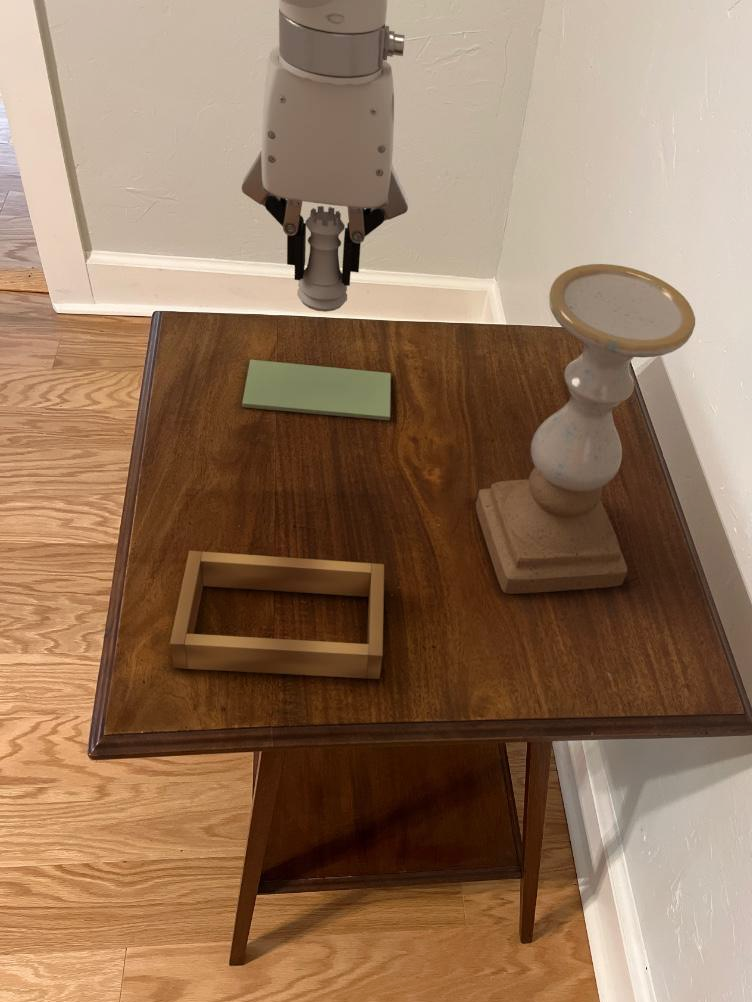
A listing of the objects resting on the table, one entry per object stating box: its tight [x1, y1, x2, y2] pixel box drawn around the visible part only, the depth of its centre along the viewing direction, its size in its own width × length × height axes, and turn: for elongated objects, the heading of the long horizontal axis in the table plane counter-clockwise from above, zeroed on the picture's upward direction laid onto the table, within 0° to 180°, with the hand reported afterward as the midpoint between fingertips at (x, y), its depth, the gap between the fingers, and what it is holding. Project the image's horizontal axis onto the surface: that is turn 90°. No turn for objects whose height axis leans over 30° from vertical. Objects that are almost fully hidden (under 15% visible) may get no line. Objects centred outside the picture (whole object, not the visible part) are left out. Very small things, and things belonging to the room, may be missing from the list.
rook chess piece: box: [297, 205, 348, 313], centre depth 78 cm, size 4×4×8 cm
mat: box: [241, 359, 392, 421], centre depth 89 cm, size 14×7×1 cm, turn 92°
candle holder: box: [475, 263, 696, 595], centre depth 71 cm, size 11×11×24 cm
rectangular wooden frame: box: [169, 550, 385, 680], centre depth 69 cm, size 15×9×3 cm, turn 92°
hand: (323, 272), depth 79 cm, fingers closed on rook chess piece, 3 cm apart
